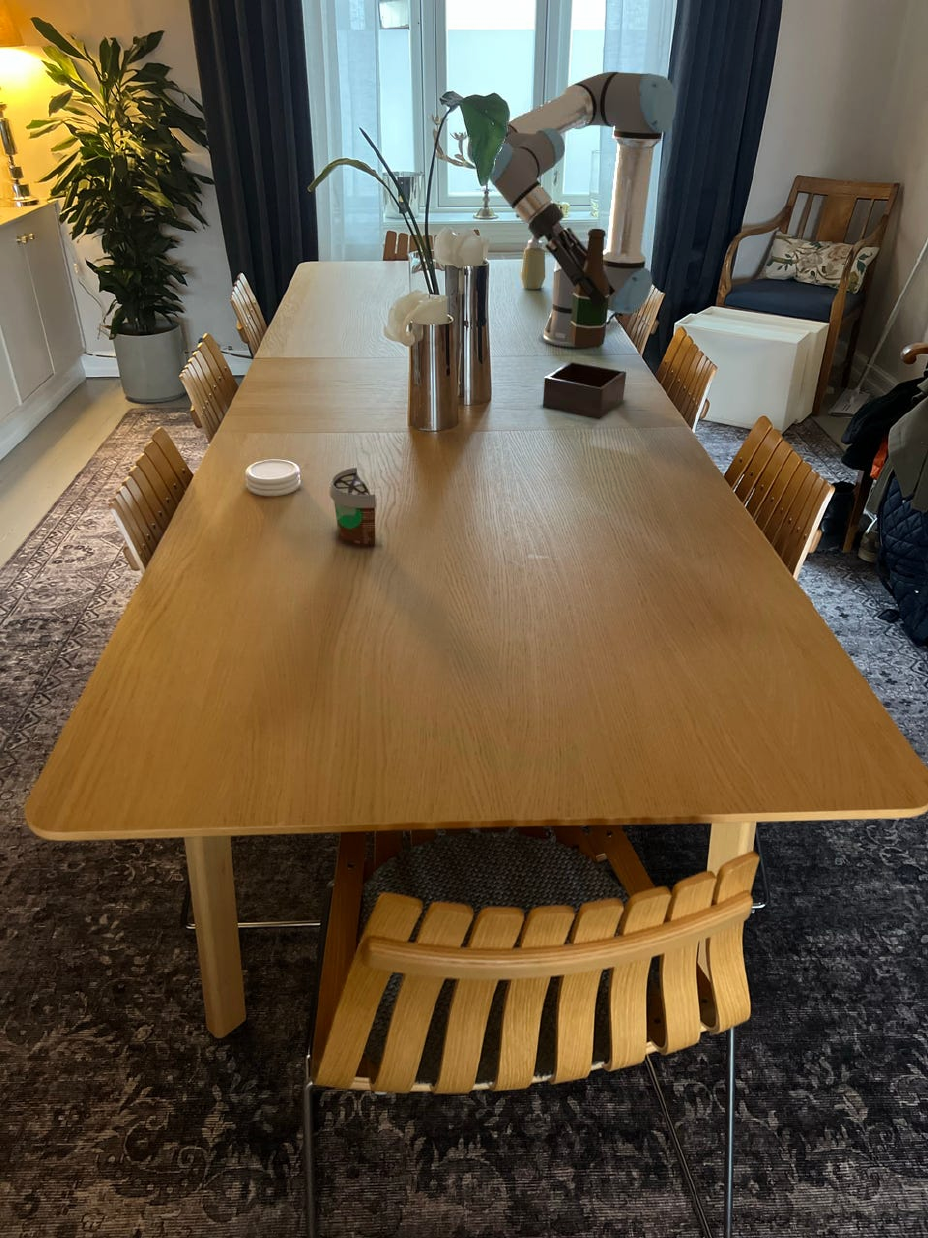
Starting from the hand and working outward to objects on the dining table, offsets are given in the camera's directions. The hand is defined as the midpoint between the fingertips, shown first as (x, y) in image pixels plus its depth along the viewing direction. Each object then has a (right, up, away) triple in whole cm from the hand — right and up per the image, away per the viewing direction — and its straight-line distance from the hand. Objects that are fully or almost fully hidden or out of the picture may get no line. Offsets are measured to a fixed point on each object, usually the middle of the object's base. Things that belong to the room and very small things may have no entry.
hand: (606, 299), depth 208 cm
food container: (-50, -56, -44) cm, 87 cm away
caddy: (-3, -20, +14) cm, 24 cm away
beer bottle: (-3, -8, +6) cm, 11 cm away
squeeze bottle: (-9, +39, +105) cm, 113 cm away
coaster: (-67, -45, -27) cm, 85 cm away
